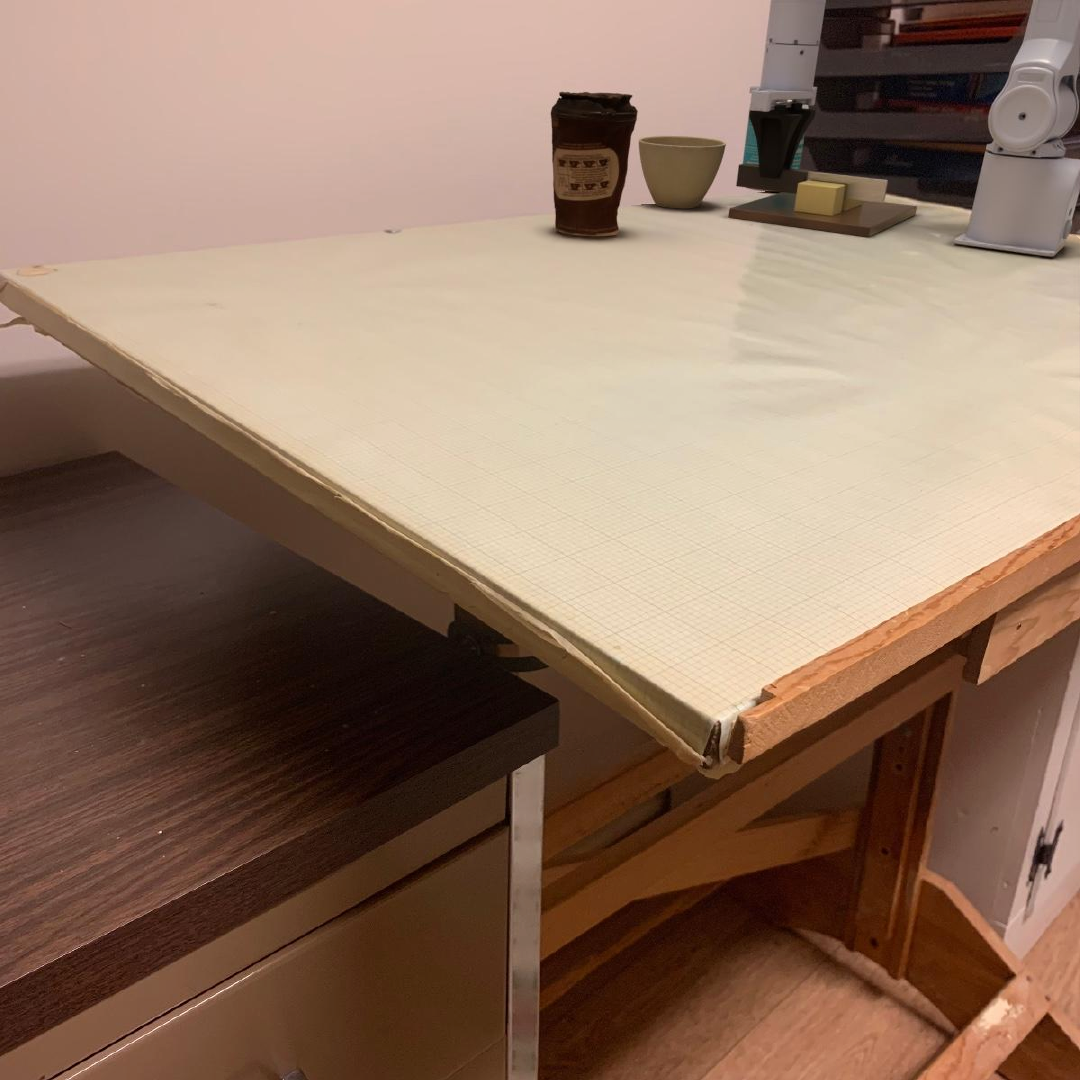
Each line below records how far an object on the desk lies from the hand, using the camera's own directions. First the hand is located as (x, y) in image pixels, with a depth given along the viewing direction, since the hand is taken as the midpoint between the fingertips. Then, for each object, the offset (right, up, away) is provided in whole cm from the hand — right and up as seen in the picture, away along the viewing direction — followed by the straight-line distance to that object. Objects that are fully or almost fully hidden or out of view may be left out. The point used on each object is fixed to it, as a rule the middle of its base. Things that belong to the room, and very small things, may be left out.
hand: (773, 176), depth 113 cm
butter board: (+6, -4, 0) cm, 7 cm away
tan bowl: (-11, -2, +4) cm, 12 cm away
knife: (+3, -2, -1) cm, 4 cm away
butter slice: (+4, -5, -3) cm, 7 cm away
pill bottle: (+3, +5, +18) cm, 19 cm away
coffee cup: (-22, -11, -13) cm, 28 cm away
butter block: (+7, -3, +1) cm, 8 cm away
